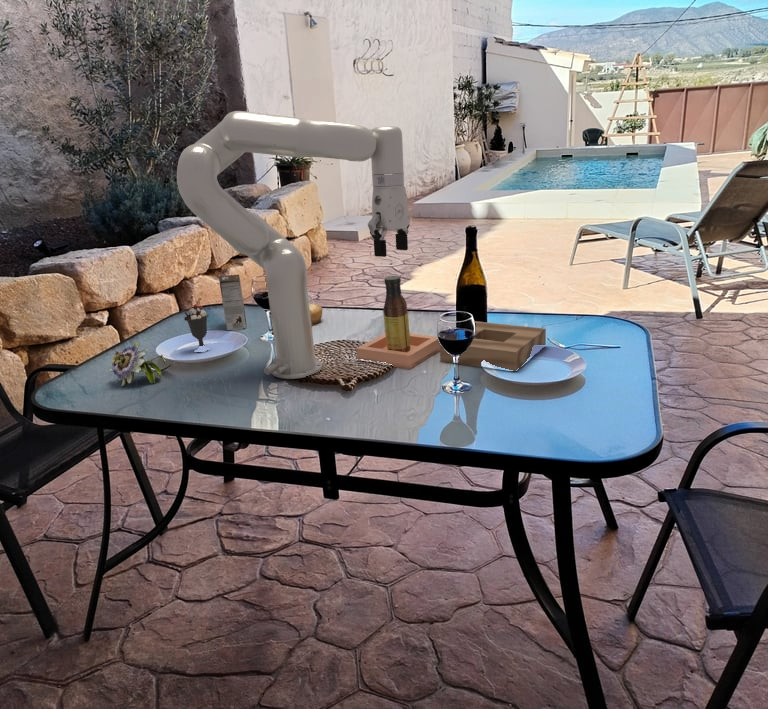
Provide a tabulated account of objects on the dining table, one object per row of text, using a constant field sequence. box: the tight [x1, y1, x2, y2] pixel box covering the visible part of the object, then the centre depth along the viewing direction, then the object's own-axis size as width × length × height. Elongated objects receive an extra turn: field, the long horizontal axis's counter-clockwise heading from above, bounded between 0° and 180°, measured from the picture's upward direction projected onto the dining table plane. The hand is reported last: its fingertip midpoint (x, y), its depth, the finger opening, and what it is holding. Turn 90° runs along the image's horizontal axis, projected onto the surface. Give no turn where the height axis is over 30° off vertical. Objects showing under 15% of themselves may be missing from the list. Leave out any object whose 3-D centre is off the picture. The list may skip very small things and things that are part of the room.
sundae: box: [184, 297, 209, 347], centre depth 177 cm, size 7×7×15 cm
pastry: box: [308, 294, 323, 326], centre depth 198 cm, size 12×12×9 cm
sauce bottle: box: [382, 275, 411, 352], centre depth 159 cm, size 7×6×20 cm
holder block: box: [439, 320, 547, 371], centre depth 158 cm, size 20×20×5 cm
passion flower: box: [108, 341, 167, 387], centre depth 157 cm, size 11×11×12 cm
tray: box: [355, 332, 440, 370], centre depth 162 cm, size 16×16×4 cm
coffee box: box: [218, 274, 248, 331], centre depth 198 cm, size 9×6×16 cm
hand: (391, 253), depth 154 cm, fingers open, 9 cm apart
